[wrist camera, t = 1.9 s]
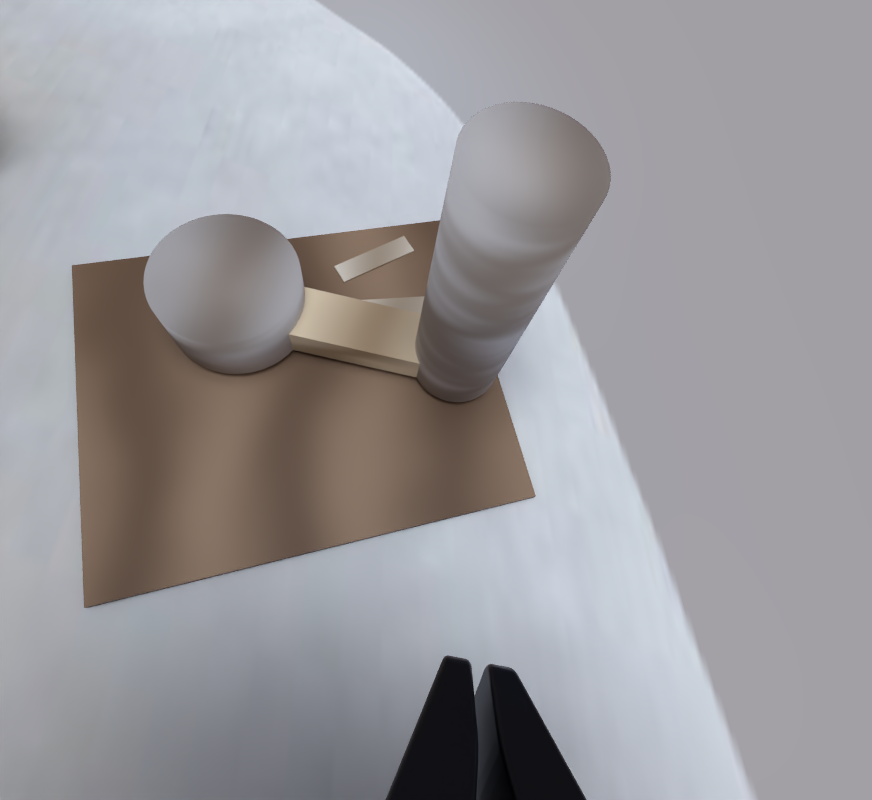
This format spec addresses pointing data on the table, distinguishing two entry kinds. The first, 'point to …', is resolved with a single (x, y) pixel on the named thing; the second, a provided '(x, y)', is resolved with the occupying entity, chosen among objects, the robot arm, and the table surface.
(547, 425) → the table surface
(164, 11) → the table surface
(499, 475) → the stand board
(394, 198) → the table surface
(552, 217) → the crank handle
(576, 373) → the table surface
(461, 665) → the robot arm
